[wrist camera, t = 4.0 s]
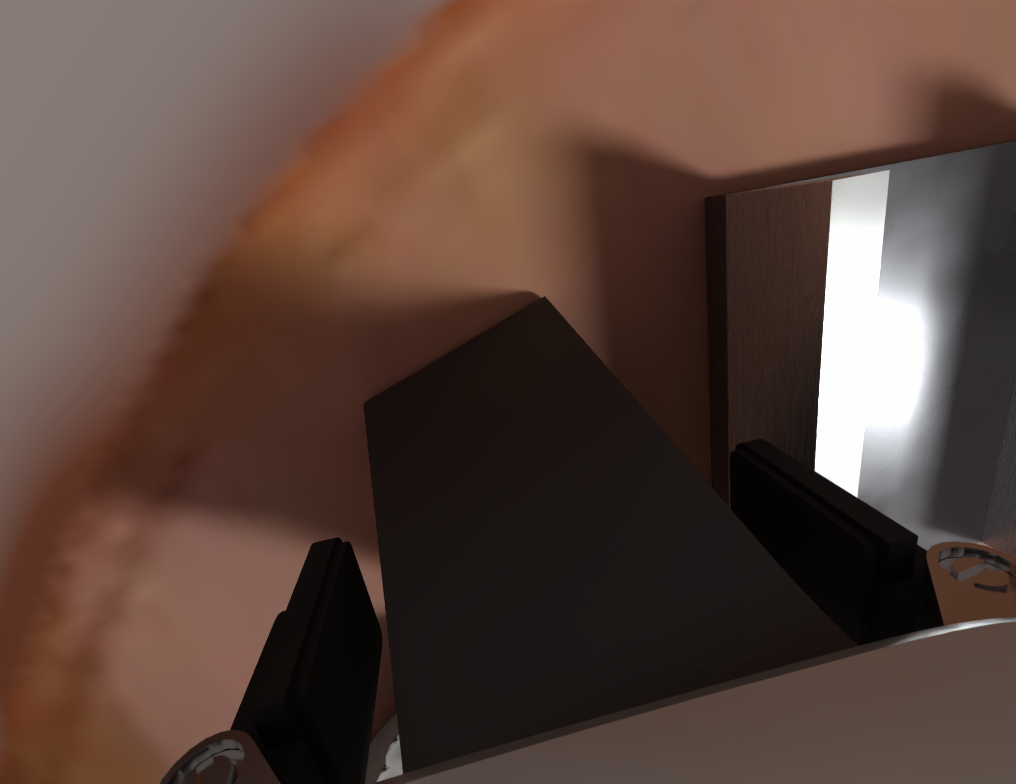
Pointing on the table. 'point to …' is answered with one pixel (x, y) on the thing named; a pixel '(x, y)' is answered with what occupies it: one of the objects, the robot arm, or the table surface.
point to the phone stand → (556, 550)
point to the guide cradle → (875, 336)
